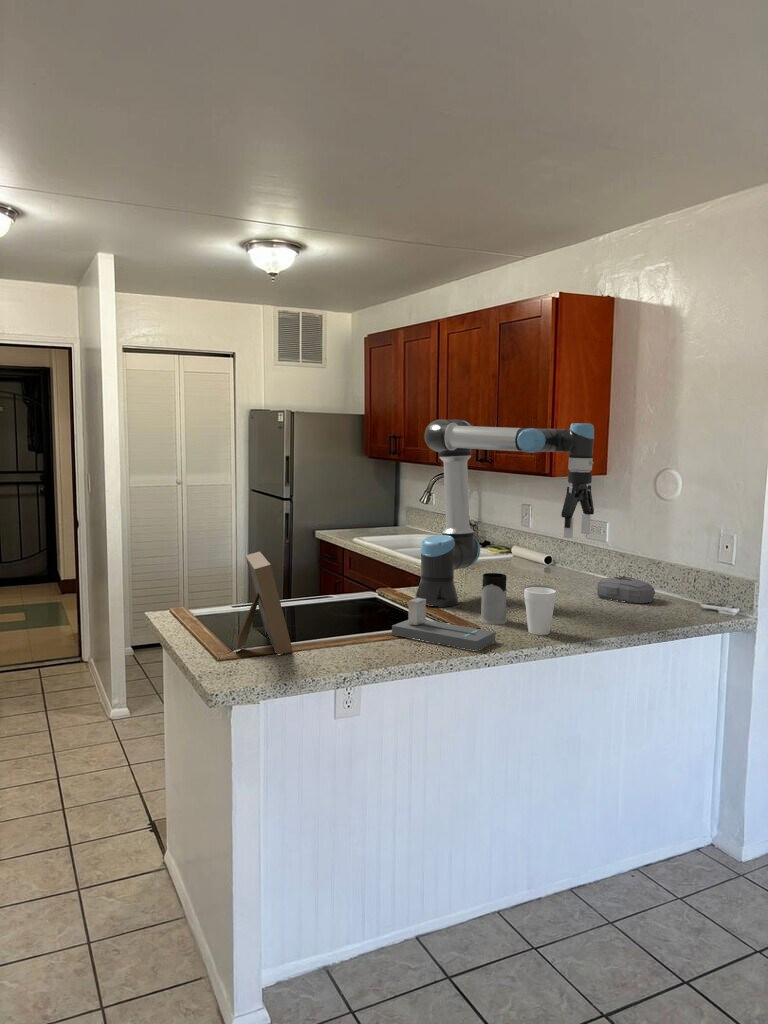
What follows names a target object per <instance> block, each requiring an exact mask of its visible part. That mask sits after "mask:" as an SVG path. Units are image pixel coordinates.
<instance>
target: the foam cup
mask: <svg viewBox="0 0 768 1024" xmlns="http://www.w3.org/2000/svg"><path fill="white" fill-rule="evenodd" d="M524 597H525V603H526V606H525V610H526V612H525V613H526V623H527V630H528V633H529V634H532V635H536V636H546V635H549V634H550V632H551V628H552V627H551V626H552V620H553V615H554V608H555V603H556V600H557V591H556V589H555V590H553V589H550V588H541V587H531V588H526V589H525V590H523V598H524ZM525 603H524V604H525Z"/></svg>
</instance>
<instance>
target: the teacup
mask: <svg viewBox="0 0 768 1024" xmlns="http://www.w3.org/2000/svg"><path fill="white" fill-rule="evenodd" d="M531 587H541V588H550V589H553V590H555V591H556V587H555V586H552V585H546V584H537V583H535V584H529V585H526V586H524V587H523V588H522V589H523V591H524V590H525V589H526V588H531ZM523 602H524V606H525V607H526V603H525V597H524V596H523Z"/></svg>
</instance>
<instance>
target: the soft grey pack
mask: <svg viewBox="0 0 768 1024" xmlns="http://www.w3.org/2000/svg"><path fill="white" fill-rule="evenodd" d="M596 587H597V588H596V590H597V591H596V592H597V596H598V598H601V597H602V599H605V598H607V599H606V600H608V599H612V600H611V601H613V600H618V601H617V602H619V601H625V602H624V603H626V602H632V603H631V604H648V602H649V603H652V602H653V600H654V596H655V595H656V591H655V588H654V587H653V586H652V585H651V584H650V583H649V582H646V581H643V580H641V579H638V578H634V577H631V576H625V575H624V576H622V575H618V576H613V577H605V578H602V579H600V580H599V582H598V584H597V586H596Z"/></svg>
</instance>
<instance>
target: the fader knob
mask: <svg viewBox="0 0 768 1024" xmlns="http://www.w3.org/2000/svg"><path fill="white" fill-rule="evenodd" d="M426 608H427V606H426V599H422V598H413V599H409V600H408V614H407V615H408V616H407V617H408V619H407V620H408V624H413V625H419V624H421V623H424V622H426V620H427V619H426V616H427V615H426V612H427V611H426V610H427V609H426Z"/></svg>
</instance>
